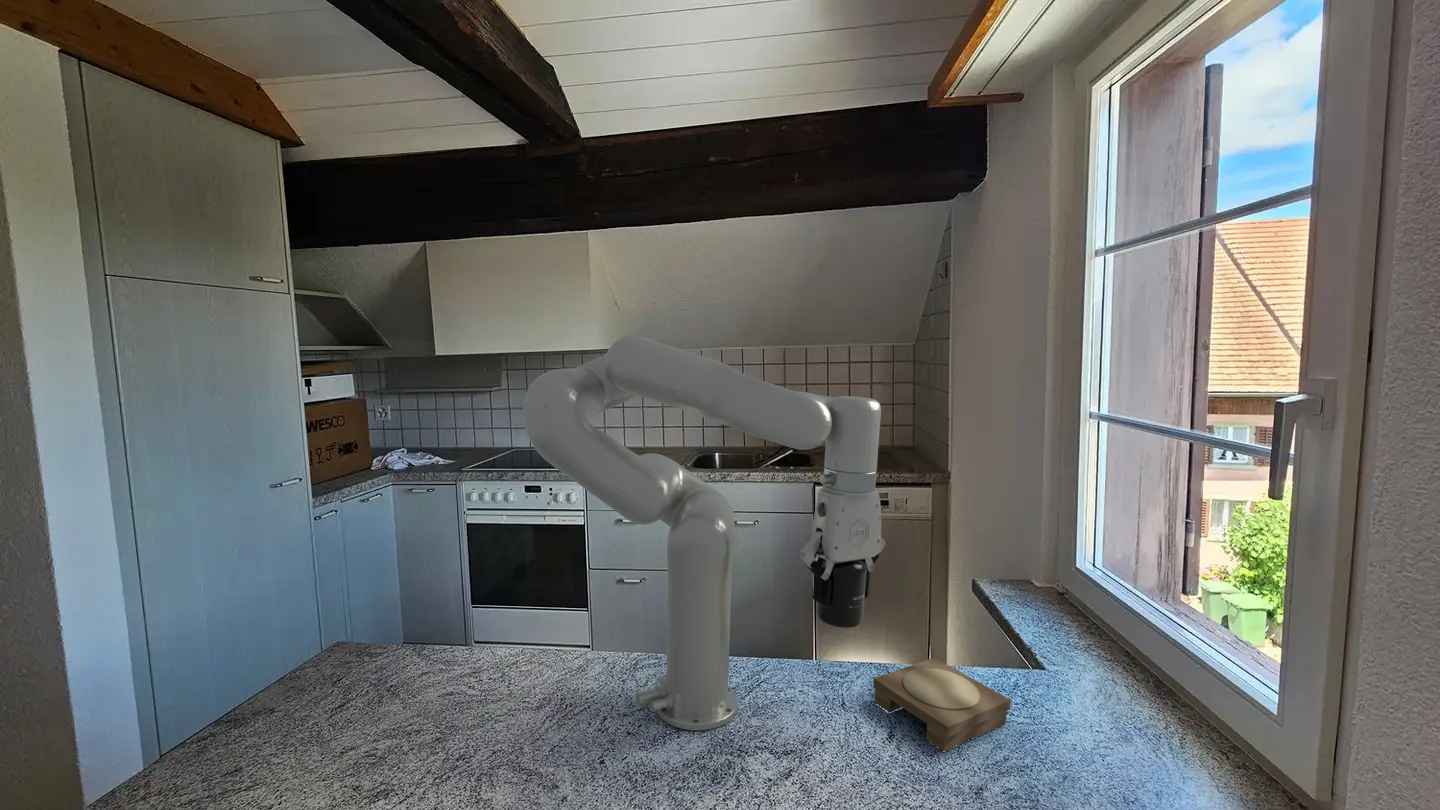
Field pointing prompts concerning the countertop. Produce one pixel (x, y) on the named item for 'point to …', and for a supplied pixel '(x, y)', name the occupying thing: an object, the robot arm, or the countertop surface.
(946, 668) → the walnut stand
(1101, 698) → the countertop surface
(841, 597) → the supplement bottle
